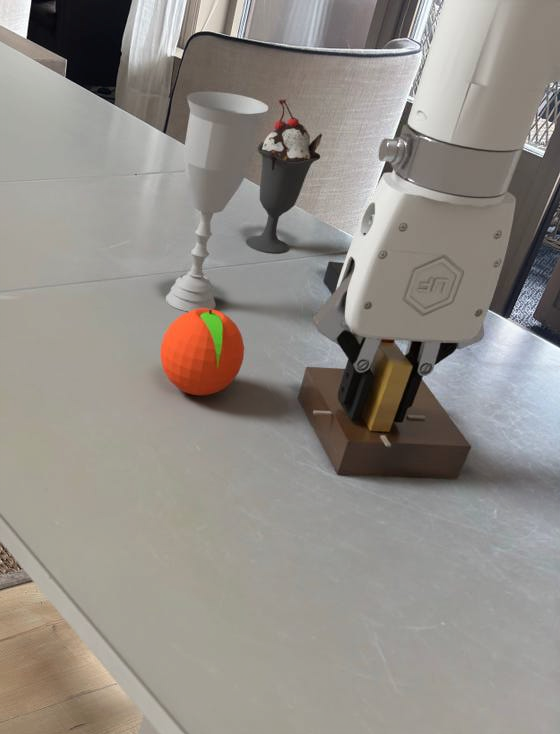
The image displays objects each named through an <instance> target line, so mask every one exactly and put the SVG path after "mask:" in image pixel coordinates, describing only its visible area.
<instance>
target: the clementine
mask: <svg viewBox="0 0 560 734" xmlns="http://www.w3.org/2000/svg"><path fill="white" fill-rule="evenodd" d="M243 339H244V338H243V335H242V333H241V331H240V329H239V328H238V325H236V323H235V322H234V321H233V320H232V319H231V318H230V317H229V316H228V315H226V313H223V312H221V311H219V310H216V309H207V308H200V309H195V310H192V311H190V312H188V311H186V312H184V313H183V314H181V315H180V316H179V317H177V318H176V319H175V320H174V321H172V322H171V323H170V325H169V327H168V328H167V330H166V331H165V333H164V335H163V338H162V341H161V345H160V361H161V366H162V370H163V372H164V374H165V375H166V377H167V378H168V380H169V382H170V383H171V384H173V386H175V387H176V388H177V389H178V390H180V391H182V392H184V393H186V394H188V395H192V396H193V395H194V396H209V395H212V394H215V393H218V392H220V391H222V390H223V389H225V388H226V387H228V386H229V385H230V384H231V383H232V382H233V381H234V379H236V377H237V375H238V374H239V372H240V371H241V367H242V365H243V361H244V355H245V345H244V340H243Z"/></svg>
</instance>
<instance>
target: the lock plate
mask: <svg viewBox="0 0 560 734" xmlns="http://www.w3.org/2000/svg"><path fill="white" fill-rule="evenodd" d="M344 371H345V368H341V367H339V368H338V367H320V366H319V367H318V366H306V367H305V370H304V373H303V378H302V381H301V384H300V387H299V392H298V395H297V400H298V403H299V404H300V406H301V408H302V410H303V412H304V414H305V416H306V418H307V420H308V421H309V423H310V425H311V427H312V429H313V431H314V433H315V435H316V437H317V439H318V441H319V442H320V444H321V446H322V448H323V450H324V452H325V454H326V456H327V457H328V459H329V462H330V464H331V465H332V467H333V469H334V472H335V474H336V475H339V476H341V475H342V476H363V477H366V476H367V477H390V478H391V477H393V478H394V477H395V478H416V479H417V478H419V479H443V480H445V479H446V480H458V479H459V477H460V474H461V473H462V469H463V468H464V465H465V463H466V461H467V458H468V456H469V454H470V451H471V449H472V445H471V444H470V442H469V441H468V439H467V438H466V436H465V435H464V434H463V433H462V431H461V430H460V428H458V426H457V424H455V423H456V422H454V421H453V419H452V418H451V417H450V414H448V412H447V411H446V409H445V408H444V407H443V405H442V404H441V402H439V400H438V398H436V396H435V395H434V393H433V392H432V390H431V389H430V388H429V386H428V385H427V384H426V382H425V381H424V379H422V380H421V383H420V386H419V388H418V391H417V394H416V396H415V399H414V402H413V404H412V406H411V407H410V408H408V409H407V412H406V415H405V417H404V420H403V422H402V423H399V422H394V421H393V423H392V426H391V429H390V431H389V432H382V431H370V430H369V428H368V426H367V425H366V423H365V422H364V420H363V418H362V417H361V418H360V419H358V420H350V419H349V418H348V416H347V414H346V413H345V411H344V409H343V407H342V406H341V404H340V402H339V401H338V390H339V387H340V384H341V381H342V377H343V374H344Z"/></svg>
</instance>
